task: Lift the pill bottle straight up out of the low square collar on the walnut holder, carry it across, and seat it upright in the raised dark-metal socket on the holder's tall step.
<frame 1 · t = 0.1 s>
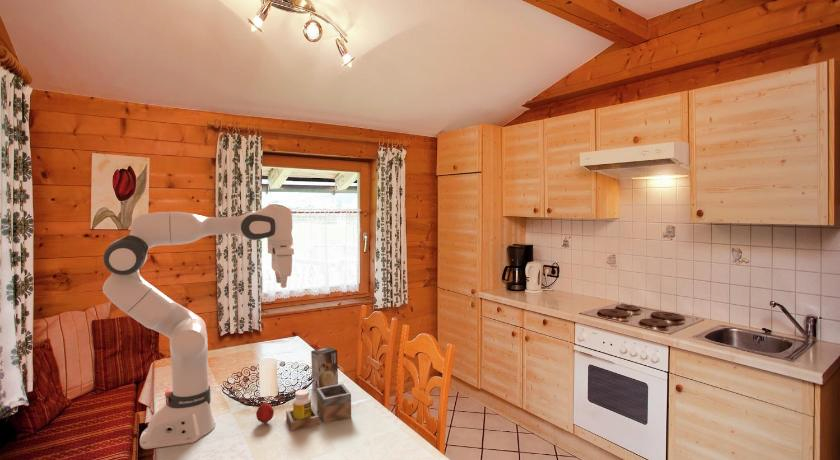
hand: (281, 285, 163), 48 cm above the table, fingers open, 8 cm apart
coffee box: (325, 387, 187), on the table
onion: (265, 423, 157), on the table
stepped holder: (317, 418, 161), on the table
pill bottle: (302, 422, 158), resting in stepped holder
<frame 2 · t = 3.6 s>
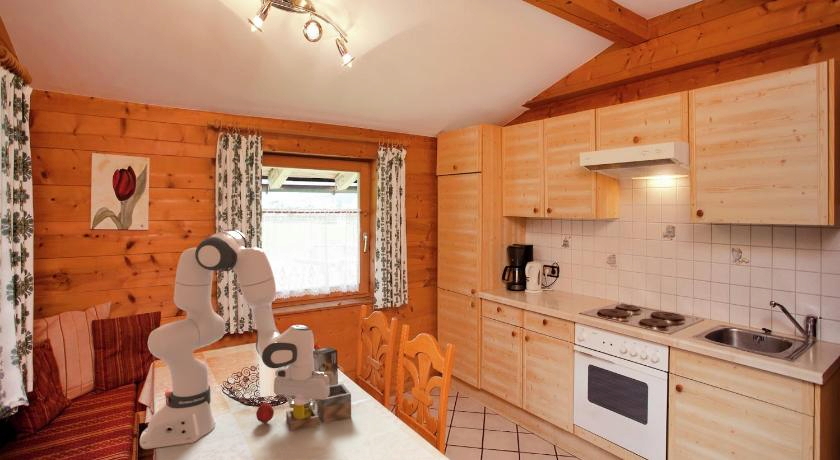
hand: (302, 408, 158), 5 cm above the table, fingers closed on pill bottle, 6 cm apart
pill bottle: (302, 422, 158), resting in stepped holder, touching gripper
everything else where it was.
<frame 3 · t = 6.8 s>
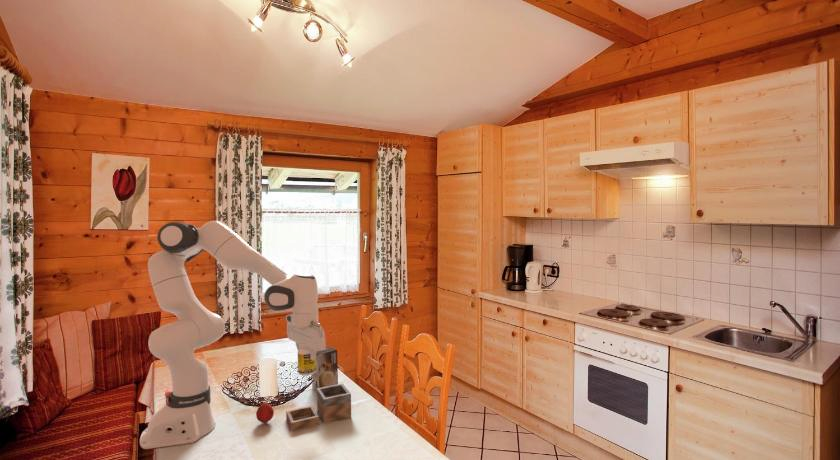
hand: (306, 357, 157), 23 cm above the table, fingers closed on pill bottle, 6 cm apart
pill bottle: (307, 373, 158), point 18 cm above the table, touching gripper
everything else where it was.
when the fingers open (13 cm above the table, at t = 9.9 s): pill bottle stays where it is, resting on stepped holder.
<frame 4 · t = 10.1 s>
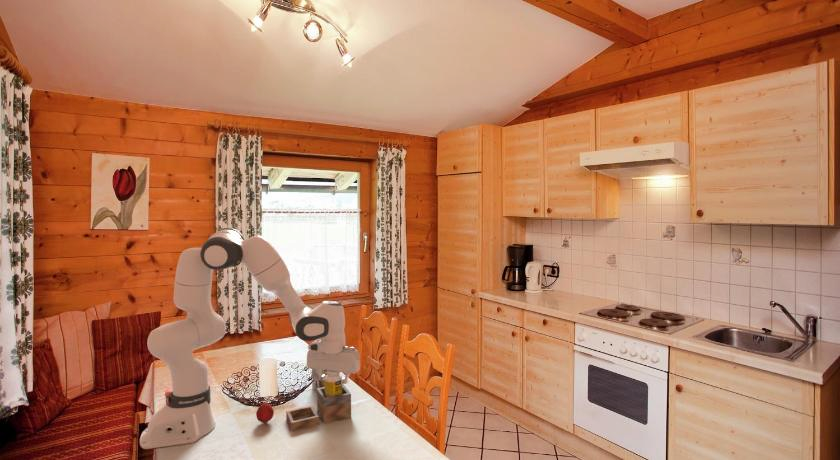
hand: (333, 381, 163), 13 cm above the table, fingers open, 8 cm apart
pill bottle: (333, 399, 163), point 6 cm above the table, touching stepped holder
everything else where it was.
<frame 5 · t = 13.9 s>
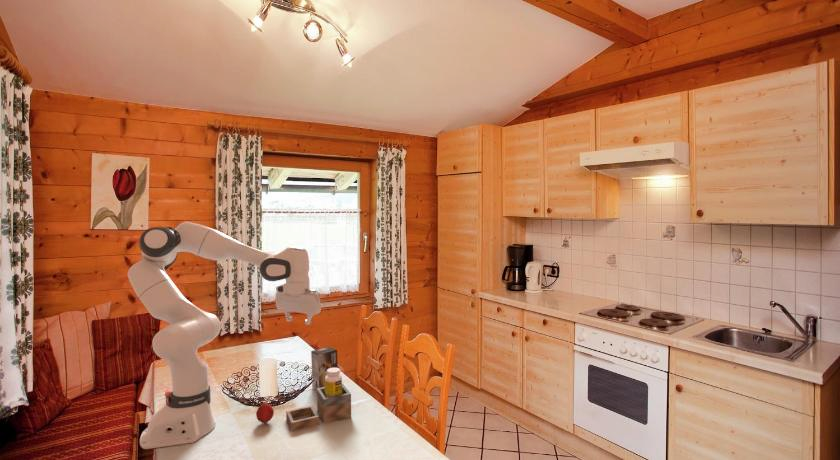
hand: (298, 322, 173), 31 cm above the table, fingers open, 8 cm apart
nothing on the table moved.
at the end: pill bottle 0.0 cm from the target spot on the stepped holder, point 5.8 cm above the stepped holder's base; pill bottle tilted 0°; the gripper is holding nothing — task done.
